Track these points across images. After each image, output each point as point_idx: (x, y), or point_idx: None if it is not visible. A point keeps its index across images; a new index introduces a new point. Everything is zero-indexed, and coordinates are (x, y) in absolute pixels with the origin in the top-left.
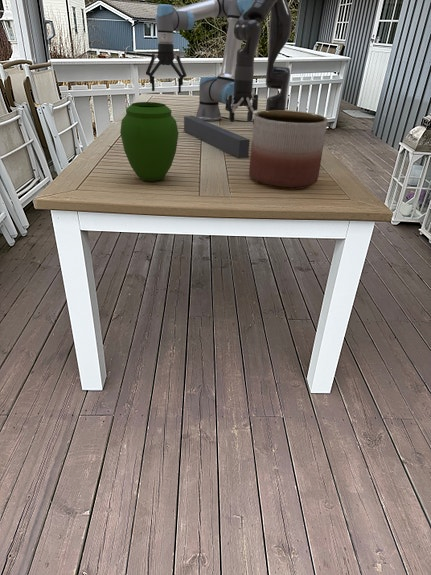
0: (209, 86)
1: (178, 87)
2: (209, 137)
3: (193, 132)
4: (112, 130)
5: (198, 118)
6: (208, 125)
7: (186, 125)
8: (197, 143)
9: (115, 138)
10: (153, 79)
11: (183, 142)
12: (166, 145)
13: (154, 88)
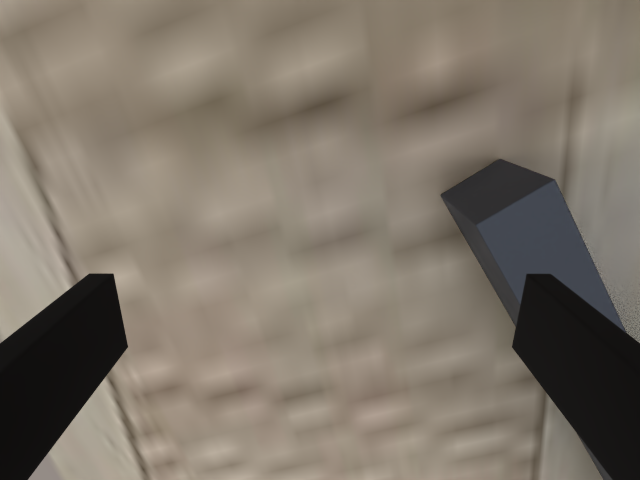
0: None
1: (551, 398)
2: (599, 463)
3: (513, 317)
4: (8, 304)
5: (598, 281)
6: None
7: (475, 243)
8: (520, 444)
9: (122, 453)
10: (5, 467)
11: (452, 443)
12: None
13: (98, 293)
